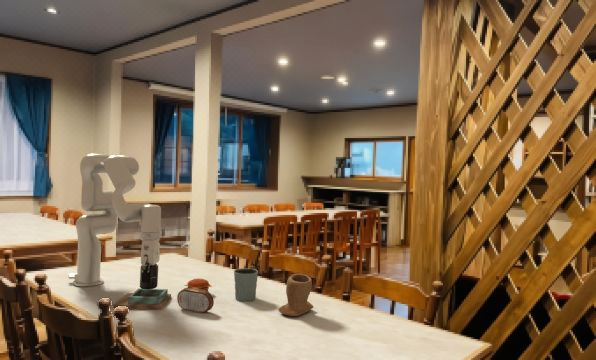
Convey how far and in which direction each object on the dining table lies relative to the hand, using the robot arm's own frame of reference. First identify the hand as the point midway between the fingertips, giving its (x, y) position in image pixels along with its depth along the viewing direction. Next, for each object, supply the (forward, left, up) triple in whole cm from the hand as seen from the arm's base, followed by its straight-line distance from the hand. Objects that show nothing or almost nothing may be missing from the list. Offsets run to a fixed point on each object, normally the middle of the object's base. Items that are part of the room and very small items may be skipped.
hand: (148, 279), depth 173 cm
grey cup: (+38, +9, -10) cm, 40 cm away
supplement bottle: (0, 0, -3) cm, 3 cm away
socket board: (-2, 0, -9) cm, 10 cm away
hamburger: (+17, +14, -10) cm, 24 cm away
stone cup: (+60, -7, -10) cm, 61 cm away
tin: (+20, -8, -10) cm, 24 cm away
